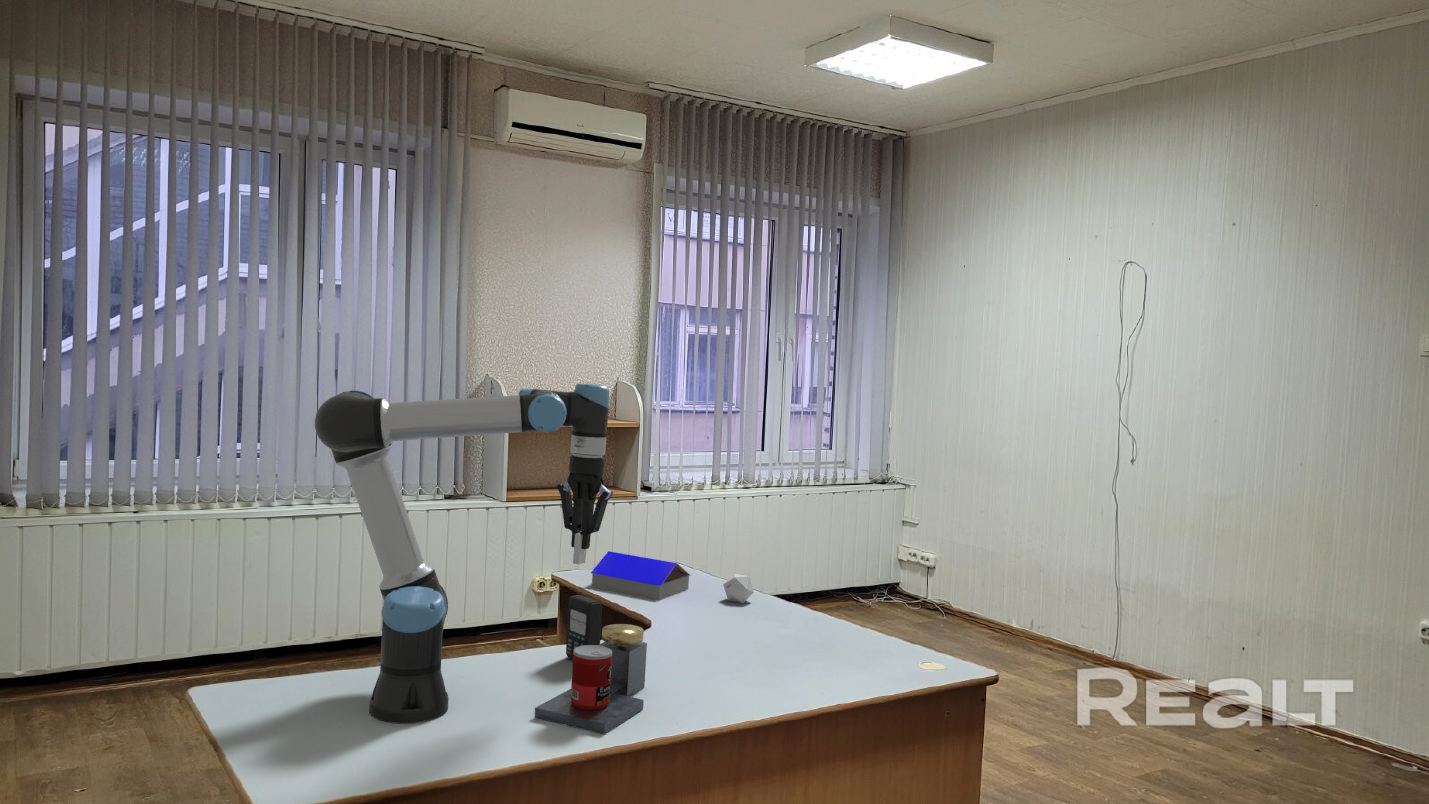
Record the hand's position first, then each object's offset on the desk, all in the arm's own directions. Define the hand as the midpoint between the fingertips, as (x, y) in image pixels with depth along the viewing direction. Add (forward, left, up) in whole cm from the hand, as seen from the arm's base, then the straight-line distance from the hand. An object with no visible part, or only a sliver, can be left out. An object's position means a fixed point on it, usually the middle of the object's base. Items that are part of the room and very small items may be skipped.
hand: (579, 563), depth 222 cm
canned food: (+12, -12, -25) cm, 31 cm away
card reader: (-7, +16, -27) cm, 32 cm away
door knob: (+10, +4, -24) cm, 26 cm away
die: (+1, +92, -27) cm, 96 cm away
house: (-30, +88, -28) cm, 97 cm away
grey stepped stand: (+12, -6, -27) cm, 30 cm away
